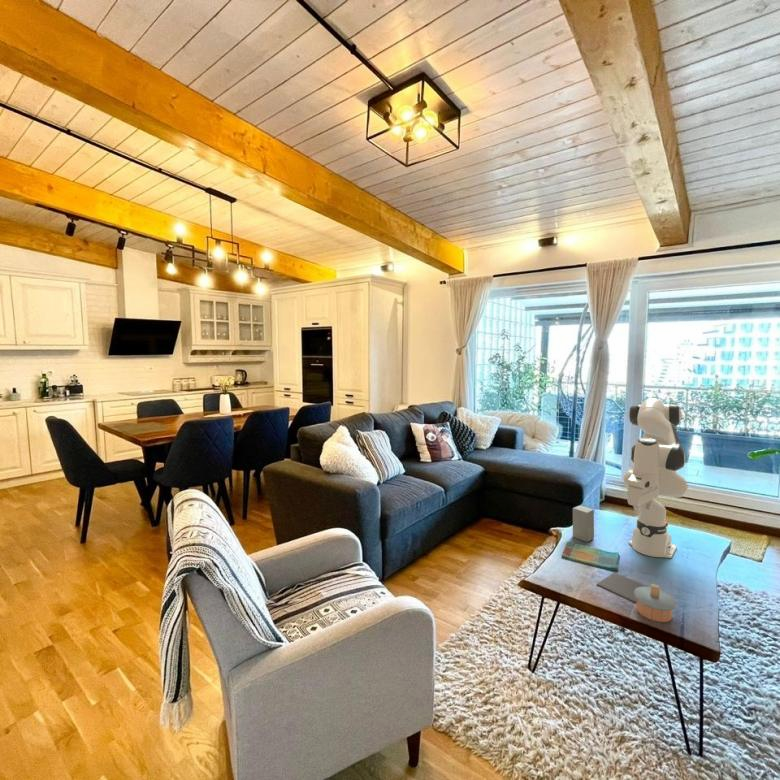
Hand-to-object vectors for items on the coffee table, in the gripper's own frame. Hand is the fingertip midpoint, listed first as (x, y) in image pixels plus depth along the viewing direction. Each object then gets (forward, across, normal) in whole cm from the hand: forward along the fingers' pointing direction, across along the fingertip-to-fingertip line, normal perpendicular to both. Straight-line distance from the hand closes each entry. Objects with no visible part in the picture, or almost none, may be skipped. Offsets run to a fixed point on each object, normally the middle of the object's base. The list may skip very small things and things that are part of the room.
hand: (642, 511), depth 169 cm
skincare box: (+31, -22, -36) cm, 53 cm away
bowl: (+31, +15, +12) cm, 37 cm away
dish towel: (+32, -6, -23) cm, 40 cm away
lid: (+26, +15, +12) cm, 32 cm away
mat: (+31, +7, -2) cm, 32 cm away
